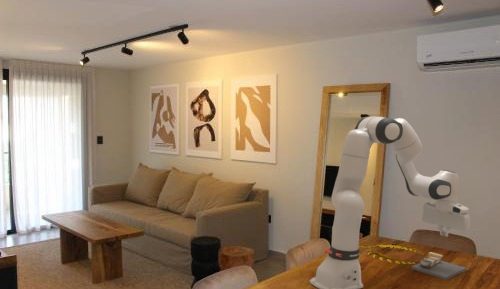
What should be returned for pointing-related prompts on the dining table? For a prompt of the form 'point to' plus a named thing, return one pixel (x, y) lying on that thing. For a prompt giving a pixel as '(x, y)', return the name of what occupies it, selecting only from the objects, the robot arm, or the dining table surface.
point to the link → (430, 262)
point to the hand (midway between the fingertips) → (444, 235)
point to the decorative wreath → (391, 257)
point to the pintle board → (440, 268)
